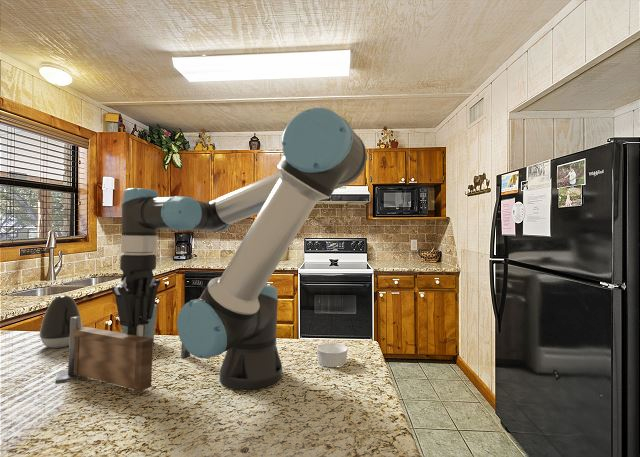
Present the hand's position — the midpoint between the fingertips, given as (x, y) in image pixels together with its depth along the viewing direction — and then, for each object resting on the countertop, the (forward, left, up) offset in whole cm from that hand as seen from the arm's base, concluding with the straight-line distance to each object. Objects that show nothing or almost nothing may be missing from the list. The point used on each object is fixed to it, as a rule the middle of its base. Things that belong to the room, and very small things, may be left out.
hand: (135, 352), depth 78 cm
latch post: (+10, -13, -7) cm, 18 cm away
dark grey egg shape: (+38, +17, -7) cm, 42 cm away
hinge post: (+10, +12, -7) cm, 17 cm away
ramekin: (-14, -48, -7) cm, 50 cm away
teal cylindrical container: (+28, -3, -7) cm, 29 cm away
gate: (0, +5, -6) cm, 7 cm away
